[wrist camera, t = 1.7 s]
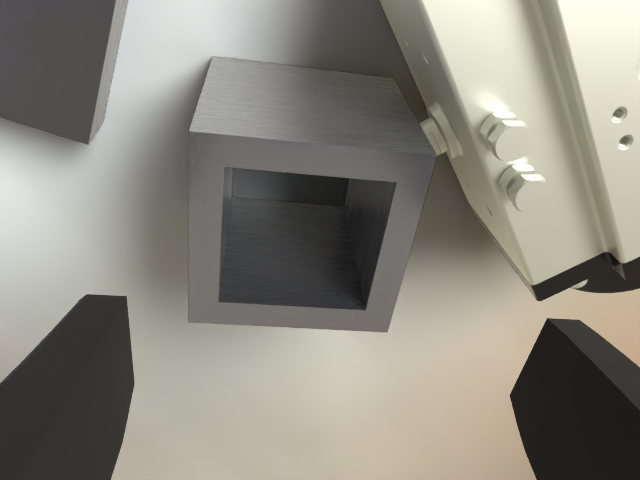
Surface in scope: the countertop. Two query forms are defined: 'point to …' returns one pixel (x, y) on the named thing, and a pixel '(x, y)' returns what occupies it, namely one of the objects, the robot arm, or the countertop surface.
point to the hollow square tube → (302, 218)
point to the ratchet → (59, 63)
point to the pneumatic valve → (537, 128)
